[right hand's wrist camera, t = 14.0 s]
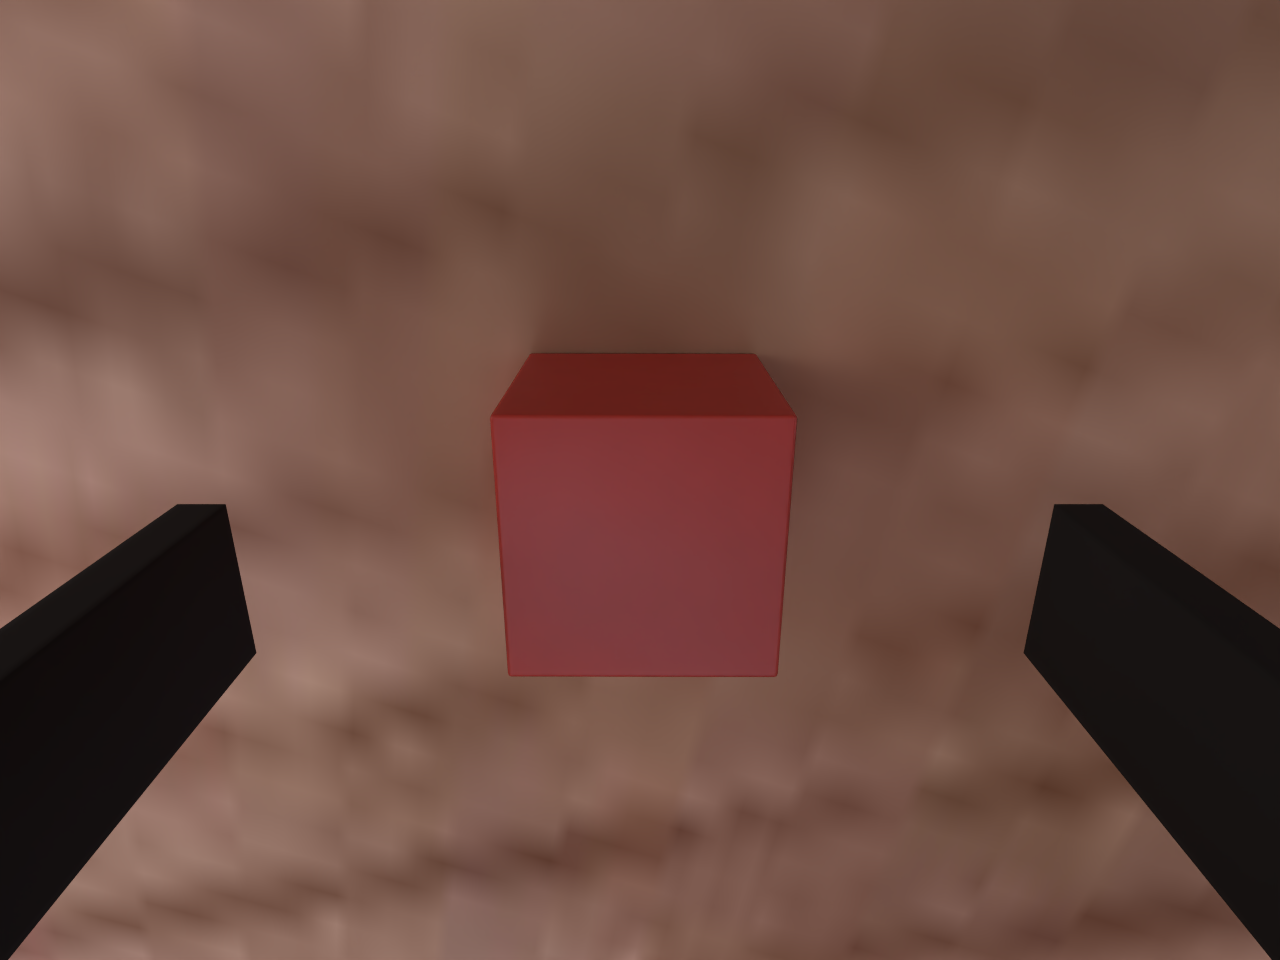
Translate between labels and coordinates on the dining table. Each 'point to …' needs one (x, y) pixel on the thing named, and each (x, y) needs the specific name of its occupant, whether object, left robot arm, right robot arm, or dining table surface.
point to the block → (643, 515)
